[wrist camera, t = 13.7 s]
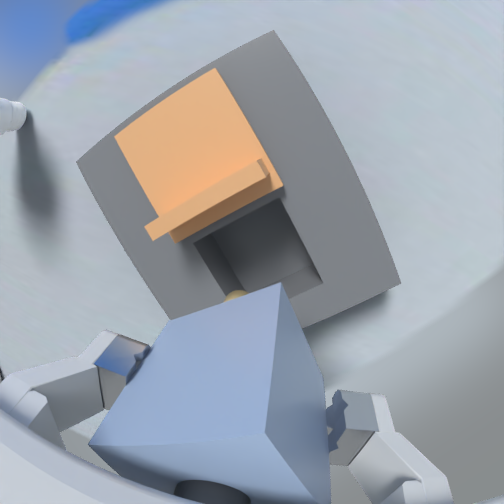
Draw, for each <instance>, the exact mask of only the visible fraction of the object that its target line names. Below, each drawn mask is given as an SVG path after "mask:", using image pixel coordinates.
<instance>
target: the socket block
mask: <svg viewBox="0 0 504 504" xmlns="http://www.w3.org/2000/svg"><path fill="white" fill-rule="evenodd" d="M214 68H216V69H217V70H218V72H219V73H220V75H221V76H222V78H223V80H224V81H225V83H226V85H227V86H228V88H229V90H230V91H231V93H232V95H233V96H234V98H235V100H236V101H237V103H238V105H239V106H240V108H241V110H242V111H243V113H244V115H245V116H246V118H247V120H248V122H249V123H250V125H251V127H252V128H253V130H254V132H255V134H256V135H257V137H258V139H259V141H260V142H261V144H262V146H263V148H264V149H265V151H266V153H267V155H268V157H269V158H270V160H271V162H272V164H273V166H274V167H275V169H276V171H277V173H278V175H279V177H280V178H281V180H282V182H283V184H284V185H283V186H282V187H280V188H278V189H276V190H274V191H272V192H270V193H268V194H266V195H264V196H262V197H260V198H258V199H257V200H255V201H253V202H251V203H249V204H247V205H245V206H243V207H241V208H240V209H238V210H236V211H234V212H232V213H230V214H228V215H227V216H225V217H223V218H221V219H219V220H217V221H215V222H214V223H212V224H210V225H208V226H206V227H205V228H203V229H201V230H199V231H197V232H195V233H194V234H192V235H190V236H188V237H187V238H185V239H183V240H181V241H179V242H178V243H176V244H175V243H174V241H173V240H172V238H171V236H170V235H169V233H168V232H167V233H165V234H164V235H162V236H160V237H159V238H157V239H155V240H154V241H153V240H152V239H151V237H150V235H149V234H148V232H147V230H146V229H145V227H144V226H146V225H147V224H149V223H150V222H152V221H154V220H155V219H157V218H158V217H159V216H158V214H157V213H156V211H155V209H154V207H153V206H152V204H151V202H150V201H149V199H148V197H147V195H146V194H145V192H144V190H143V188H142V187H141V185H140V183H139V181H138V179H137V178H136V176H135V174H134V172H133V170H132V169H131V167H130V165H129V163H128V161H127V160H126V158H125V156H124V154H123V152H122V150H121V148H120V147H119V145H118V143H117V141H116V139H115V137H114V136H116V135H117V134H118V133H119V132H121V131H122V130H123V129H124V128H126V127H127V126H128V125H130V124H131V123H132V122H134V121H135V120H136V119H138V118H139V117H140V116H142V115H143V114H144V113H146V112H147V111H149V110H150V109H151V108H153V107H154V106H156V105H157V104H159V103H160V102H161V101H163V100H164V99H166V98H167V97H169V96H170V95H172V94H173V93H175V92H176V91H178V90H179V89H181V88H182V87H184V86H186V85H187V84H189V83H190V82H192V81H194V80H195V79H197V78H198V77H200V76H202V75H203V74H205V73H207V72H208V71H210V70H212V69H214ZM76 163H77V165H78V167H79V169H80V171H81V173H82V175H83V177H84V179H85V181H86V183H87V184H88V186H89V188H90V190H91V192H92V194H93V196H94V198H95V199H96V201H97V203H98V205H99V207H100V208H101V210H102V212H103V214H104V216H105V217H106V219H107V221H108V223H109V224H110V226H111V228H112V229H113V231H114V233H115V235H116V236H117V238H118V240H119V241H120V243H121V245H122V246H123V248H124V250H125V251H126V253H127V255H128V256H129V258H130V259H131V261H132V263H133V264H134V266H135V267H136V269H137V271H138V272H139V274H140V275H141V277H142V278H143V280H144V281H145V283H146V284H147V286H148V288H149V289H150V291H151V292H152V294H153V295H154V297H155V298H156V300H157V301H158V302H159V304H160V305H161V307H162V308H163V310H164V311H165V313H166V314H167V316H168V317H169V318H170V320H173V319H176V318H179V317H182V316H185V315H188V314H191V313H194V312H197V311H200V310H203V309H206V308H209V307H212V306H215V305H218V304H221V303H223V302H224V300H225V298H226V296H227V295H228V294H229V293H230V292H232V291H235V290H243V291H246V292H248V293H252V292H255V291H258V290H261V289H263V288H266V287H269V286H272V285H274V284H277V283H280V282H281V283H282V285H283V288H284V290H285V292H286V294H287V297H288V299H289V301H290V303H291V306H292V308H293V310H294V312H295V315H296V317H297V319H298V321H299V324H300V326H301V328H302V329H303V328H305V327H308V326H310V325H312V324H315V323H317V322H319V321H322V320H324V319H326V318H329V317H331V316H333V315H335V314H338V313H340V312H342V311H344V310H346V309H349V308H351V307H353V306H355V305H357V304H359V303H362V302H364V301H366V300H368V299H370V298H372V297H374V296H376V295H378V294H380V293H383V292H385V291H387V290H389V289H391V288H393V287H395V286H397V285H399V284H401V281H400V278H399V276H398V273H397V270H396V267H395V264H394V262H393V259H392V256H391V254H390V251H389V248H388V246H387V243H386V241H385V238H384V236H383V233H382V231H381V228H380V226H379V223H378V221H377V219H376V216H375V214H374V211H373V209H372V207H371V204H370V202H369V200H368V198H367V195H366V193H365V191H364V189H363V187H362V184H361V182H360V180H359V178H358V176H357V174H356V172H355V169H354V167H353V165H352V163H351V161H350V159H349V157H348V155H347V153H346V151H345V149H344V147H343V145H342V143H341V141H340V139H339V137H338V136H337V134H336V132H335V130H334V128H333V126H332V124H331V122H330V121H329V119H328V117H327V115H326V113H325V112H324V110H323V108H322V106H321V104H320V103H319V101H318V99H317V97H316V96H315V94H314V92H313V91H312V89H311V87H310V86H309V84H308V82H307V81H306V79H305V77H304V76H303V74H302V72H301V71H300V69H299V68H298V66H297V64H296V63H295V61H294V60H293V58H292V57H291V55H290V54H289V52H288V50H287V49H286V47H285V46H284V44H283V43H282V41H281V40H280V39H279V37H278V36H277V34H276V33H275V31H274V30H273V31H271V32H269V33H267V34H264V35H262V36H260V37H258V38H256V39H254V40H252V41H250V42H248V43H246V44H244V45H242V46H240V47H238V48H237V49H235V50H233V51H231V52H229V53H227V54H225V55H224V56H222V57H220V58H218V59H217V60H215V61H213V62H211V63H210V64H208V65H206V66H205V67H203V68H201V69H199V70H198V71H196V72H195V73H193V74H191V75H190V76H188V77H187V78H185V79H183V80H182V81H180V82H179V83H177V84H176V85H174V86H173V87H171V88H170V89H168V90H167V91H165V92H164V93H162V94H161V95H159V96H158V97H156V98H155V99H154V100H152V101H151V102H149V103H148V104H147V105H145V106H144V107H142V108H141V109H140V110H138V111H137V112H136V113H134V114H133V115H132V116H130V117H129V118H128V119H126V120H125V121H124V122H123V123H121V124H120V125H119V126H117V127H116V128H115V129H114V130H113V131H111V132H110V133H109V134H108V135H106V136H105V137H104V138H103V139H102V140H100V141H99V142H98V143H97V144H96V145H95V146H93V147H92V148H91V149H90V150H89V151H88V152H86V153H85V154H84V155H83V156H82V157H81V158H80V159H79V160H78V161H76Z"/></svg>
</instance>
